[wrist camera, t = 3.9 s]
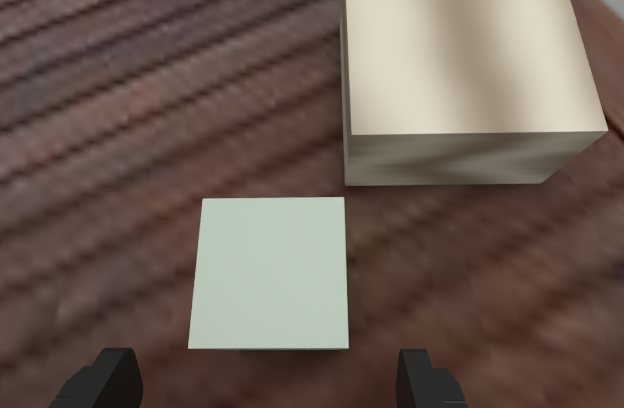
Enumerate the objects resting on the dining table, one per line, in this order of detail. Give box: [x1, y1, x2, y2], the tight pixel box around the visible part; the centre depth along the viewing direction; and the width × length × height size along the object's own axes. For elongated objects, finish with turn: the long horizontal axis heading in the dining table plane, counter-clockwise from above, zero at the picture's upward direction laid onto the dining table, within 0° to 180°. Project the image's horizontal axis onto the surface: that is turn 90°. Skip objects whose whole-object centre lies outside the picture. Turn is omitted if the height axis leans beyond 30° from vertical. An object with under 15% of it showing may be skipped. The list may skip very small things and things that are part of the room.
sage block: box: [188, 197, 349, 350], centre depth 17 cm, size 5×5×8 cm
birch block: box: [340, 0, 608, 186], centre depth 22 cm, size 11×11×6 cm
